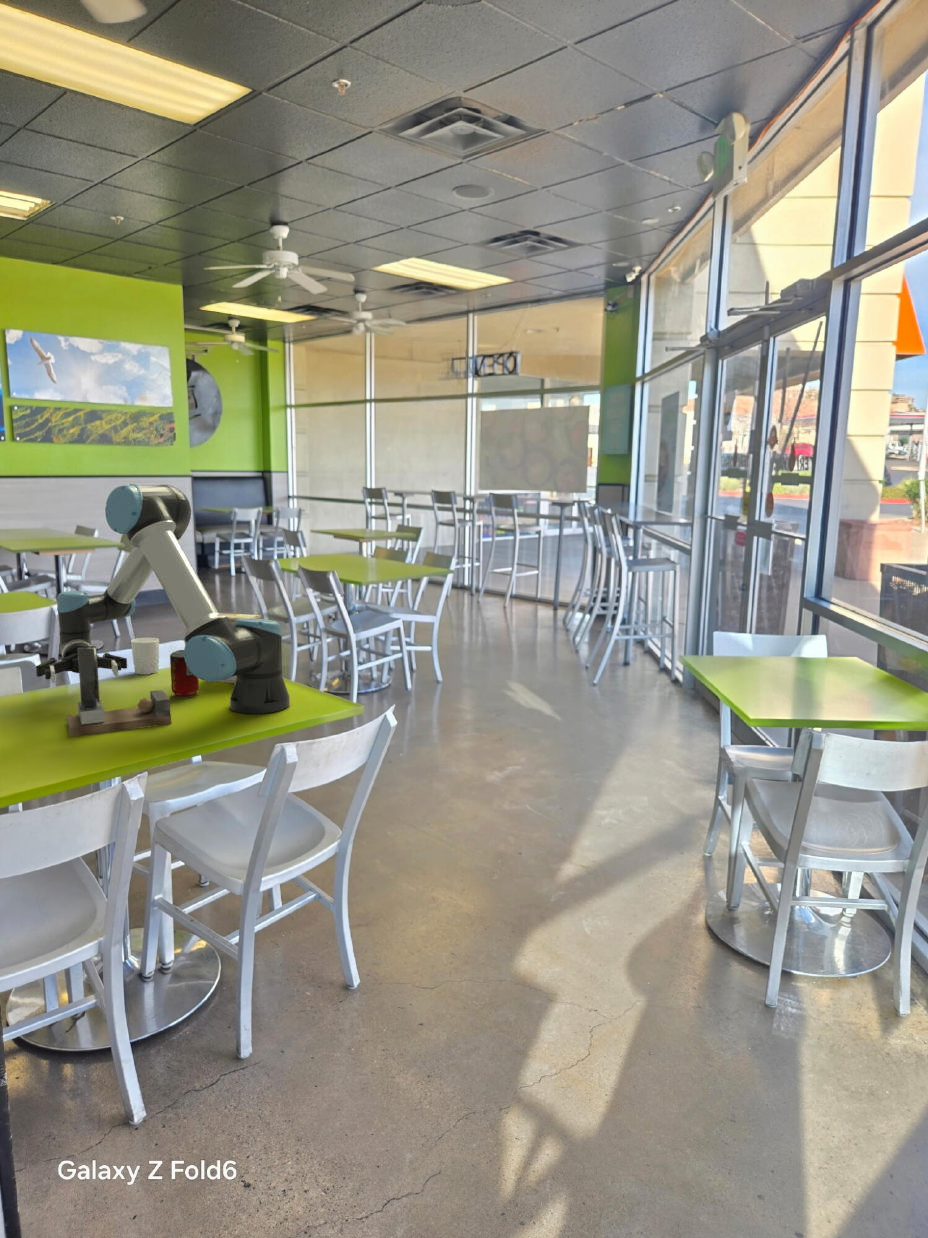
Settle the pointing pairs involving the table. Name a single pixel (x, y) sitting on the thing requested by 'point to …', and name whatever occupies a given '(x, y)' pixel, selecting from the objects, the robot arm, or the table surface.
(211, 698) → the table surface
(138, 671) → the white cup
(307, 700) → the table surface
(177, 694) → the soda can
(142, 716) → the nutcracker bench
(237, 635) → the robot arm
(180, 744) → the table surface
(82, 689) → the post
